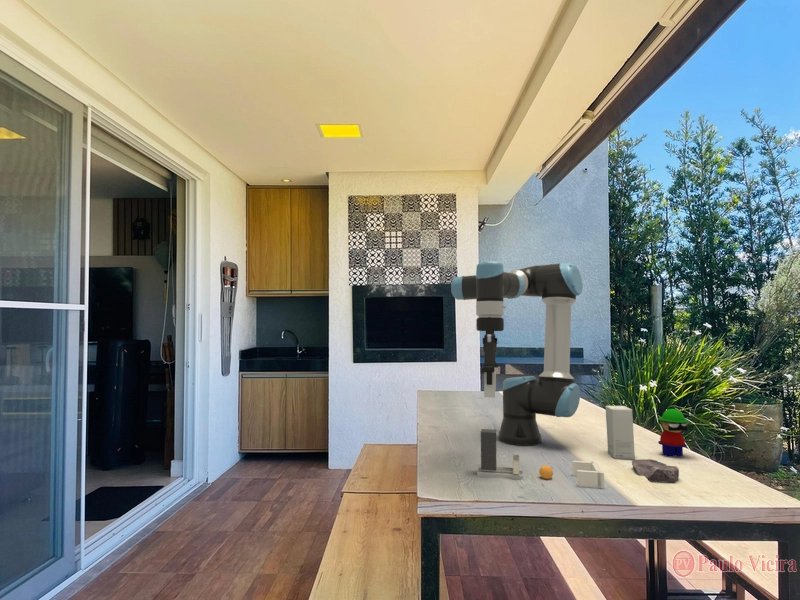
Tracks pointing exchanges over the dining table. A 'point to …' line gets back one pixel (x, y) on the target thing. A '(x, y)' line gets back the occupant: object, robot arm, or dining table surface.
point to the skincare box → (620, 432)
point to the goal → (588, 474)
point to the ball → (546, 472)
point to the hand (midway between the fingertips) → (490, 393)
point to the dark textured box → (494, 454)
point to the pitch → (500, 474)
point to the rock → (656, 470)
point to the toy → (673, 433)
